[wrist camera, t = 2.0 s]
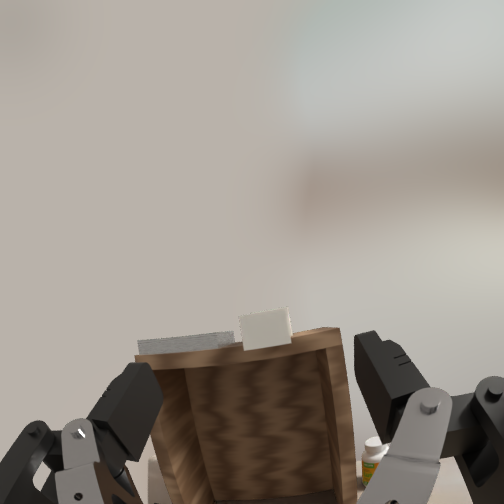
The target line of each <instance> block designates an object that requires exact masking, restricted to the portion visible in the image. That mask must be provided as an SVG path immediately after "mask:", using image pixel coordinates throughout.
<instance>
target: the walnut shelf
mask: <svg viewBox="0 0 504 504" xmlns="http://www.w3.org/2000/svg"><path fill="white" fill-rule="evenodd" d="M290 337H291V343H289V344H284V345H278V346H272V347H266V348H259V349H253V350H246V351H244V347H243V342H236V343H234V344H231V345H228V346H225V347H222V348H219V349H211V350H201V351H191V352H180V353H167V354H151V355H135V362H147V363H148V364H149V365H150V366H151V368H152V371H153V373H154V375H155V377H156V379H157V381H158V383H159V385H160V388H161V390H162V392H163V404H162V407H161V409H160V412H159V414H158V416H157V419H156V421H155V423H154V426H153V428H152V430H151V433H150V435H151V438H152V442H153V446H154V450H155V453H156V457H157V460H158V463H159V466H160V470H161V473H162V476H163V479H164V482H165V485H166V487H167V490H168V493H169V496H170V498H171V501H172V504H213V503H214V501H215V500H256V499H270V498H281V497H289V496H297V495H303V494H309V493H315V492H321V491H326V490H330V489H333V490H334V494H335V497H336V500H337V504H356V503H357V476H356V458H355V446H354V445H355V444H354V432H353V422H352V411H351V403H350V394H349V386H348V379H347V371H346V365H345V358H344V351H343V345H342V339H341V333H340V328H331V327H329V328H328V327H322V328H317V329H312V330H307V331H302V332H297V333H293V336H290Z"/></svg>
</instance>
